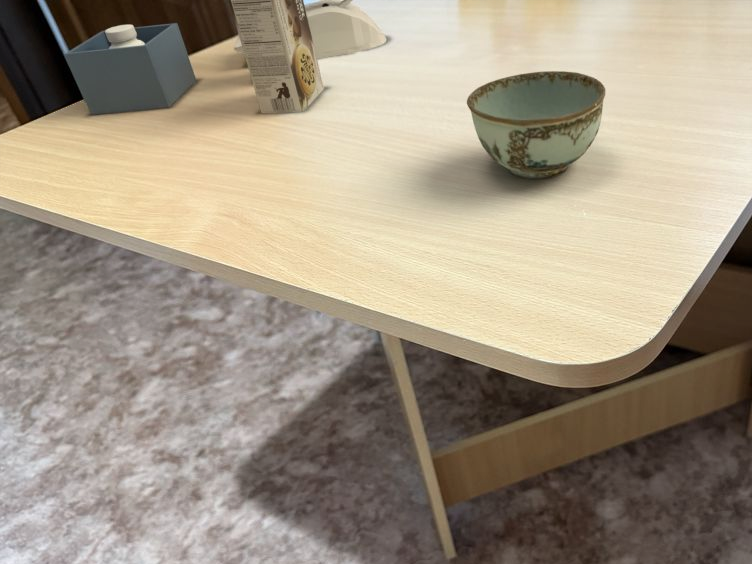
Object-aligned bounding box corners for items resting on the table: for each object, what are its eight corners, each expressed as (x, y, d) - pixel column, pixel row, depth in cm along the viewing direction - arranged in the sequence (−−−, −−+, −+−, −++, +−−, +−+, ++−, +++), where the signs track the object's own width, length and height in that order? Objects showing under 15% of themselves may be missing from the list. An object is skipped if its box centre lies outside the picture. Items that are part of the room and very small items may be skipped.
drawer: (170, 110, 100) (145, 45, 95) (92, 118, 101) (63, 54, 96) (205, 75, 112) (185, 16, 107) (135, 82, 114) (112, 24, 108)
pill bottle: (128, 94, 107) (101, 27, 100) (164, 87, 107) (139, 20, 101) (126, 105, 102) (97, 36, 96) (163, 98, 103) (136, 28, 97)
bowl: (632, 169, 70) (637, 89, 65) (528, 213, 65) (523, 131, 60) (548, 133, 80) (546, 61, 75) (450, 170, 74) (441, 95, 69)
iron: (247, 54, 120) (219, -43, 111) (384, 33, 122) (368, -65, 112) (241, 72, 112) (210, -31, 102) (389, 50, 113) (371, -55, 104)
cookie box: (284, 93, 101) (252, -30, 91) (326, 91, 100) (297, -34, 90) (260, 116, 94) (221, -14, 84) (304, 115, 93) (270, -18, 83)
